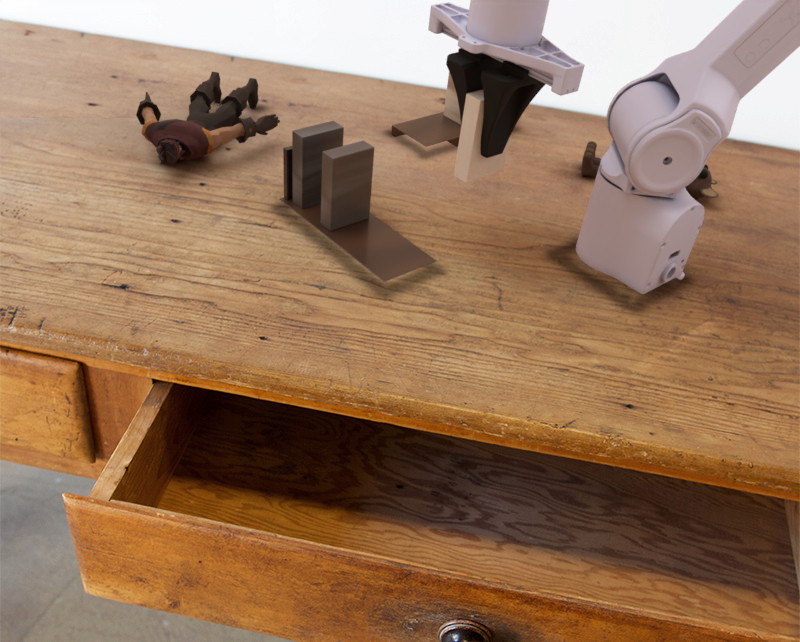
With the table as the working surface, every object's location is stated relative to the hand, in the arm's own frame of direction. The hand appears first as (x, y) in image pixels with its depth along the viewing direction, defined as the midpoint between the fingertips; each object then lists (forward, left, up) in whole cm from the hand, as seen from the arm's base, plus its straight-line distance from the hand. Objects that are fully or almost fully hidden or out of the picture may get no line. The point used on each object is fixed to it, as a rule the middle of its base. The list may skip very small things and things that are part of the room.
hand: (482, 148), depth 64 cm
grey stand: (+7, +8, -10) cm, 14 cm away
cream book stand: (+19, -16, -10) cm, 27 cm away
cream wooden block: (0, 0, -2) cm, 2 cm away
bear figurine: (-1, -26, -10) cm, 28 cm away
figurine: (+31, +10, -10) cm, 34 cm away
